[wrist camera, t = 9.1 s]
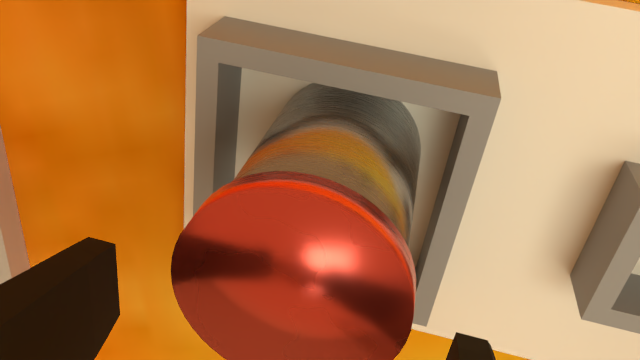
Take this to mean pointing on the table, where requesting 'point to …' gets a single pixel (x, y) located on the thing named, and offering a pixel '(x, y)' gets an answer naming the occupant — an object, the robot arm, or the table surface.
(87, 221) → the table surface
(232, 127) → the socket board
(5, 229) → the adjustable wrench
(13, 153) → the table surface
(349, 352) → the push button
